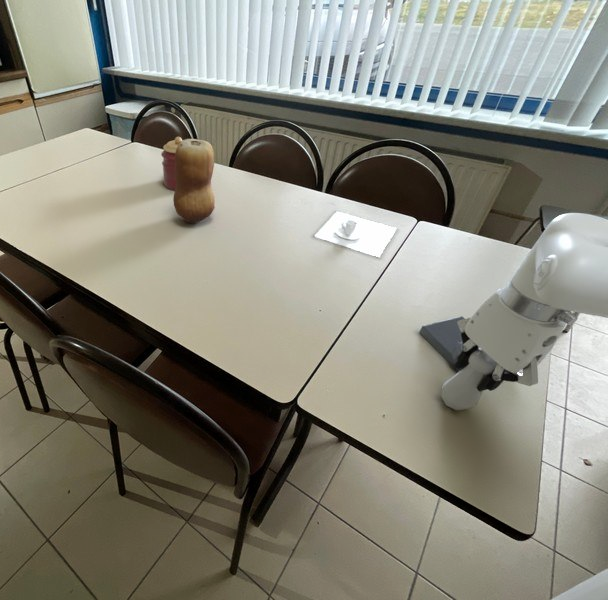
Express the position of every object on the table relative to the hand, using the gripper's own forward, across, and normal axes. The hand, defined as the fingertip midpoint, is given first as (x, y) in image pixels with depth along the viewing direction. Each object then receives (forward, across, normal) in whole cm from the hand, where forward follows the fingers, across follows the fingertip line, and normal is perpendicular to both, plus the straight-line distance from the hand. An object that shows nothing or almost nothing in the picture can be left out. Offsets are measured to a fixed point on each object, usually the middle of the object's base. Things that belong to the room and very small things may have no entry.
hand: (473, 376), depth 64 cm
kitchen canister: (+8, +110, +27) cm, 114 cm away
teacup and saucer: (+8, +59, -18) cm, 62 cm away
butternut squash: (+8, +82, +29) cm, 87 cm away
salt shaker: (+8, 0, 0) cm, 8 cm away
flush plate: (+8, +10, -12) cm, 18 cm away
